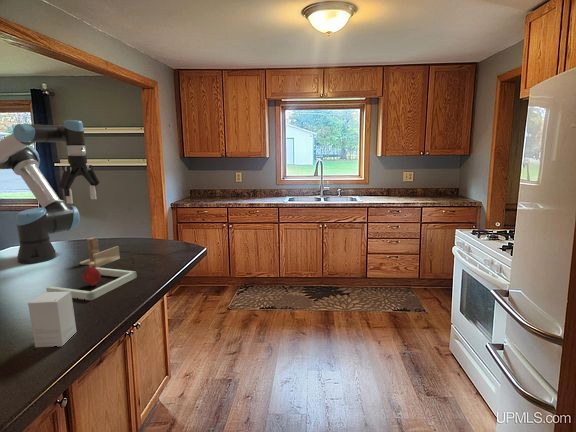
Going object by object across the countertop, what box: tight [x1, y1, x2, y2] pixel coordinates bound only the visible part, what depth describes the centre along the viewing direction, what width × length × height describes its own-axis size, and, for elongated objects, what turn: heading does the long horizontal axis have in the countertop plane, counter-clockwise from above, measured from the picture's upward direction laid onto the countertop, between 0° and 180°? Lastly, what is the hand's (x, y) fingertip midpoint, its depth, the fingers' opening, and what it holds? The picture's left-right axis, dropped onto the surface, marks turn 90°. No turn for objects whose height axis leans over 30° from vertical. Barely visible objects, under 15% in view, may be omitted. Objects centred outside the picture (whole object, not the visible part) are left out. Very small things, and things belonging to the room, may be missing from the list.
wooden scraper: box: [79, 236, 121, 268], centre depth 165 cm, size 11×14×11 cm
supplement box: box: [27, 291, 78, 348], centre depth 97 cm, size 7×7×13 cm
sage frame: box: [46, 267, 138, 301], centre depth 137 cm, size 20×23×2 cm
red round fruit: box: [82, 265, 102, 287], centre depth 136 cm, size 6×6×8 cm
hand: (82, 201), depth 170 cm, fingers open, 13 cm apart
